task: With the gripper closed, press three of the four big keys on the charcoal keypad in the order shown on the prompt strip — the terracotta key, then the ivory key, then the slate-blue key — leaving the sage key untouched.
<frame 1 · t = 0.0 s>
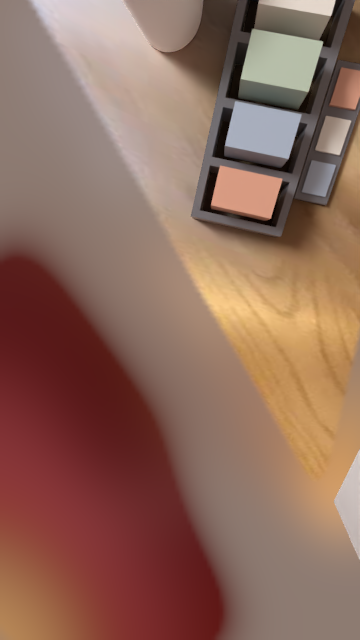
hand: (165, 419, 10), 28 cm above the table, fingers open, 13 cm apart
keypad: (261, 124, 31), on the table
key sage: (276, 72, 26), point 5 cm above the table, slide at 0.0 cm
key terracotta: (244, 195, 29), point 5 cm above the table, slide at 0.0 cm
cup: (170, 16, 30), on the table
prompt strip: (329, 138, 31), on the table
key slate: (259, 137, 28), point 5 cm above the table, slide at 0.0 cm
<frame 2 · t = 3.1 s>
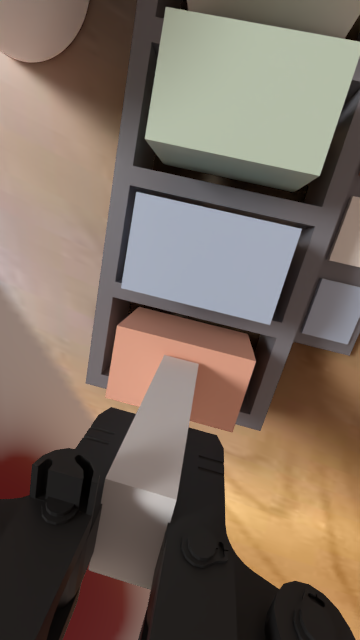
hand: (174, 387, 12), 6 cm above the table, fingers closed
keypad: (222, 204, 16), on the table
key sage: (241, 117, 11), point 5 cm above the table, slide at 0.0 cm
key terracotta: (181, 363, 14), point 4 cm above the table, slide at 0.3 cm, touching gripper
prompt strip: (358, 235, 15), on the table
key slate: (207, 257, 12), point 5 cm above the table, slide at 0.0 cm
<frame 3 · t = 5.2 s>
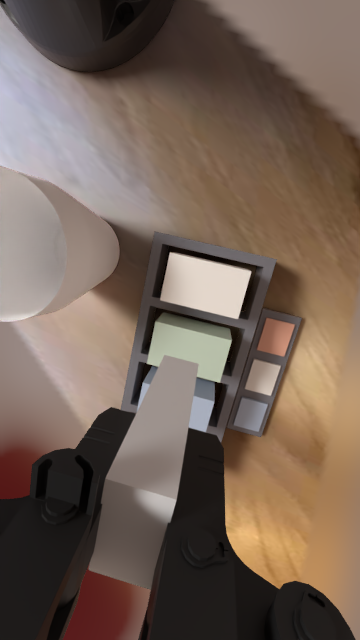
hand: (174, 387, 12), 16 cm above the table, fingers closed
keypad: (188, 355, 29), on the table
key sage: (190, 345, 24), point 5 cm above the table, slide at 0.0 cm
key ivory: (205, 283, 23), point 5 cm above the table, slide at 0.0 cm
cup: (88, 249, 28), on the table
prompt strip: (261, 374, 28), on the table
key slate: (176, 400, 25), point 5 cm above the table, slide at 0.0 cm
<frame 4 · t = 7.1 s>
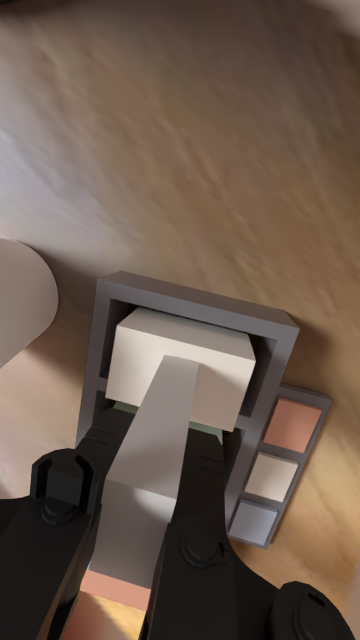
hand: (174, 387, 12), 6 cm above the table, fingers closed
keypad: (164, 439, 20), on the table
key sage: (158, 456, 15), point 5 cm above the table, slide at 0.0 cm
key terracotta: (134, 557, 20), point 3 cm above the table, slide at 1.8 cm
key ivory: (181, 363, 14), point 4 cm above the table, slide at 0.6 cm, touching gripper
cup: (14, 290, 19), on the table
prompt strip: (268, 468, 20), on the table
key slate: (140, 527, 17), point 5 cm above the table, slide at 0.0 cm
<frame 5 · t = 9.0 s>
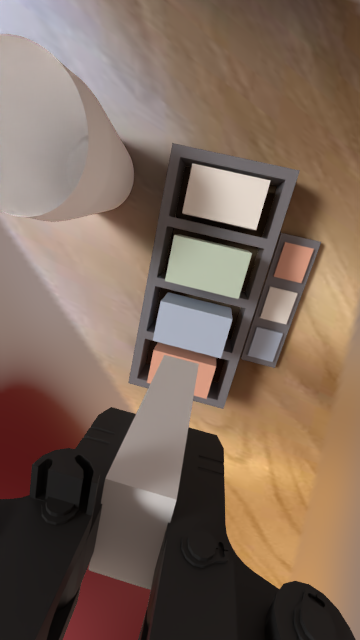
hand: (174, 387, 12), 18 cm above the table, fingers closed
keypad: (203, 285, 29), on the table
key sage: (207, 265, 24), point 5 cm above the table, slide at 0.0 cm
key terracotta: (182, 366, 29), point 3 cm above the table, slide at 1.8 cm
key ivory: (224, 199, 24), point 3 cm above the table, slide at 1.8 cm
cup: (101, 174, 27), on the table
prompt strip: (276, 303, 28), on the table
key slate: (193, 323, 25), point 5 cm above the table, slide at 0.0 cm
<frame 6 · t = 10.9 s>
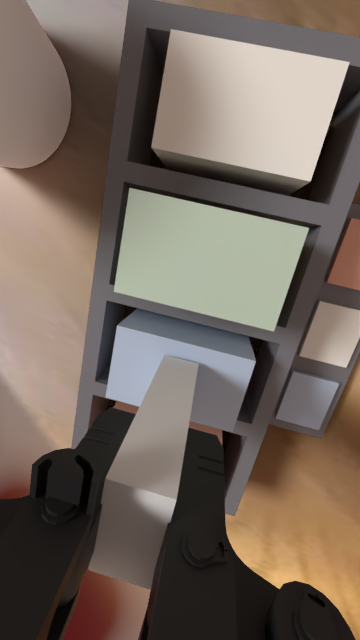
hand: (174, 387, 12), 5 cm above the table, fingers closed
keypad: (198, 298, 17), on the table
key sage: (206, 258, 11), point 5 cm above the table, slide at 0.0 cm
key terracotta: (162, 440, 16), point 3 cm above the table, slide at 1.8 cm
key ivory: (239, 126, 12), point 3 cm above the table, slide at 1.8 cm
cup: (15, 101, 15), on the table
prompt strip: (327, 330, 16), on the table
key slate: (181, 363, 14), point 3 cm above the table, slide at 1.1 cm, touching gripper
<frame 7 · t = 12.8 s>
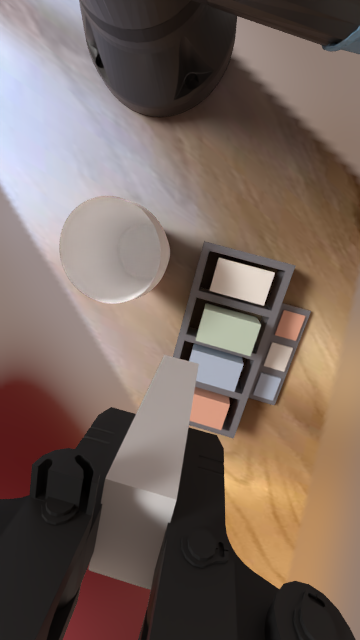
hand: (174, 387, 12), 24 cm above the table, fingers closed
keypad: (219, 338, 37), on the table
key sage: (227, 328, 31), point 5 cm above the table, slide at 0.0 cm
key terracotta: (201, 402, 36), point 3 cm above the table, slide at 1.8 cm
key ivory: (240, 280, 32), point 3 cm above the table, slide at 1.8 cm
cup: (144, 252, 35), on the table
prompt strip: (276, 354, 36), on the table
key slate: (213, 365, 35), point 3 cm above the table, slide at 1.8 cm
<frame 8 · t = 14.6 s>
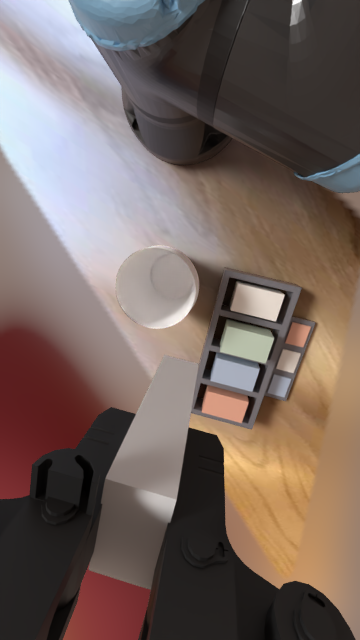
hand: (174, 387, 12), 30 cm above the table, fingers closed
keypad: (237, 346, 43), on the table
key sage: (245, 340, 38), point 5 cm above the table, slide at 0.0 cm
key terracotta: (224, 400, 43), point 3 cm above the table, slide at 1.8 cm
key ivory: (255, 300, 38), point 3 cm above the table, slide at 1.8 cm
cup: (172, 276, 42), on the table
prompt strip: (286, 358, 43), on the table
key slate: (234, 369, 41), point 3 cm above the table, slide at 1.8 cm
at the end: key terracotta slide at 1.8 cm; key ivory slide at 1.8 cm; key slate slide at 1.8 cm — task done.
